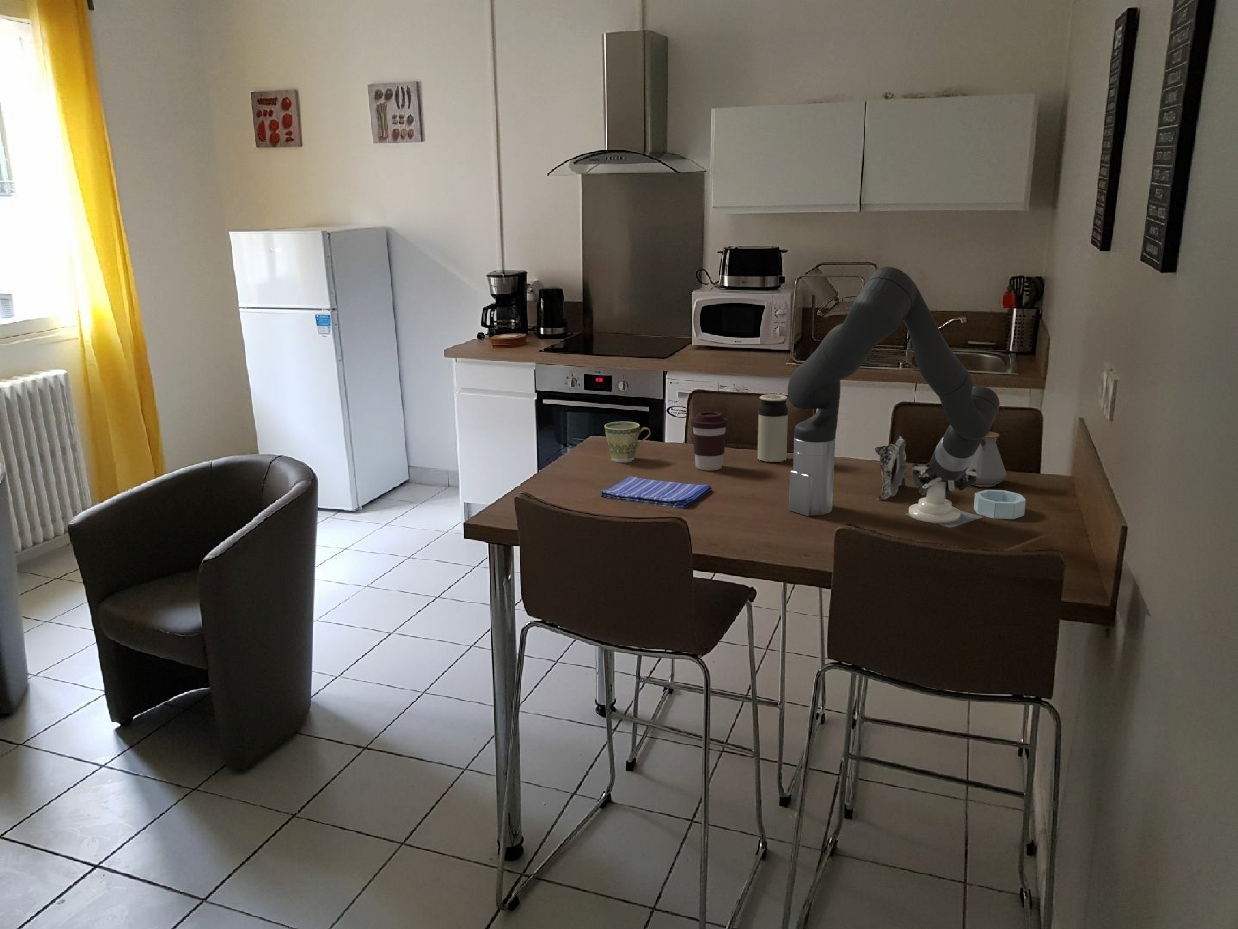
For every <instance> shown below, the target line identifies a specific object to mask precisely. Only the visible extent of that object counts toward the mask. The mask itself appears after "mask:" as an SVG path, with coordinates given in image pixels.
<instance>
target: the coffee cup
mask: <svg viewBox="0 0 1238 929" xmlns="http://www.w3.org/2000/svg"><path fill="white" fill-rule="evenodd" d="M728 420H729V419H728V418H726V417H724V416H723V413H721V412H717V411H701V412H697V413H696V415H695V417H693V418H691V419H690V426H691V427H693V428H692V429H693V430H692V440H693V454H694V459H695V460H694V461H695V468H696V469H698V470H700V471H707V472H708V471H711V472H712V471H713V472H714V471H718V470H721V469H722V468H723V461H724V454H725V447H726V435H727V432H726V427H728V426H729V421H728Z"/></svg>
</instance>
